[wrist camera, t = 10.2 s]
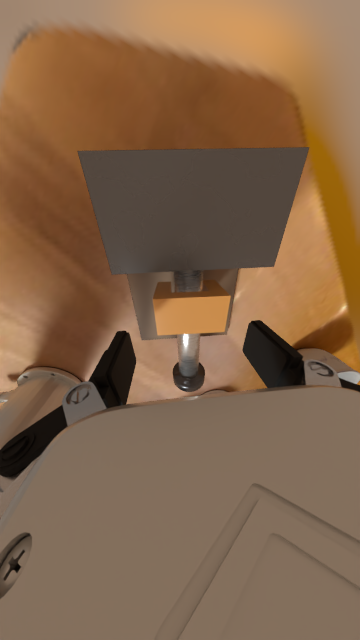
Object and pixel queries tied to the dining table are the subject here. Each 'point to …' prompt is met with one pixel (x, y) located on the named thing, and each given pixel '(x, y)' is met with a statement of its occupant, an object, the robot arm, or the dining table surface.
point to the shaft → (188, 339)
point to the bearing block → (192, 206)
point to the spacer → (190, 309)
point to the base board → (146, 286)
